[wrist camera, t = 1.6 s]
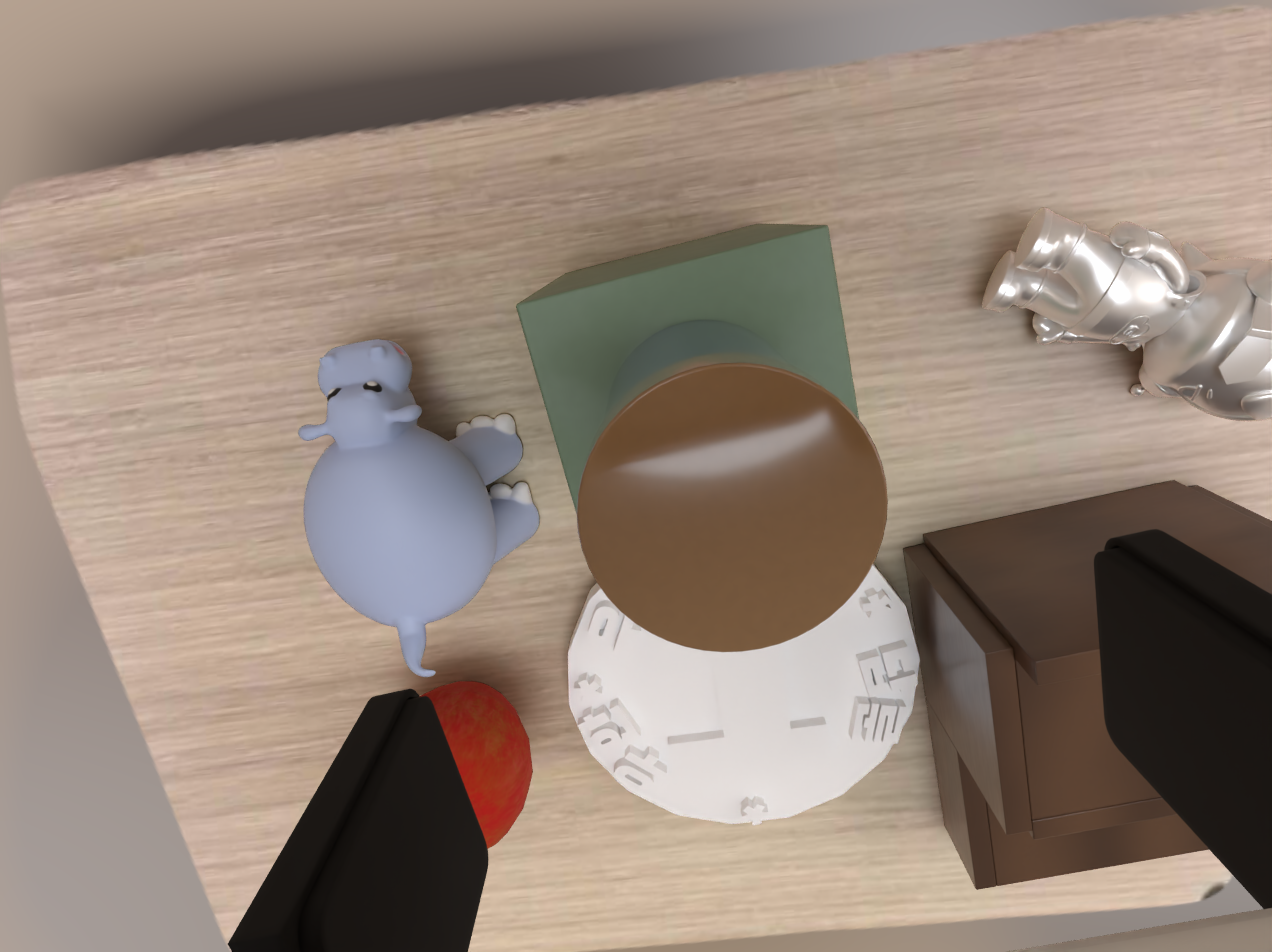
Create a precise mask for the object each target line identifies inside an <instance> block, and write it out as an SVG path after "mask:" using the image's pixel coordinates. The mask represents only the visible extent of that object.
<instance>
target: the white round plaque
mask: <svg viewBox="0 0 1272 952" xmlns="http://www.w3.org/2000/svg"><path fill="white" fill-rule="evenodd" d="M919 662H920V657H919V654H918V650H917V646H916V642H915V639H914V635H913V631H912V628H911V624H910V620H909V616H908V613H907V609H906V606H905V605H904V603H903V602H902V600H901V599H900V597H899V596H898V594H897V593H896V592H895V590H894V589H893V588H892V587H891V585H890V584H889V583H888V582H887V580H886V579H885V578H884V576H883V575H882V574H881V573H880V571H879V570H878V569H877V568H876V566H875V565H874V564H873V565H872V567H871V569H870V570H869V572H868V574H867V576H866V577H865V579H864V580H863V582H862V583H861V585H860V586H859V588H858V589H857V590H856V592H855V593H854V594H853V595H852V596H851V597H850V598H849V599H848V601H847V602H846V603H845V604H844V605H843V606H842V607H841V608H839V609H838V610H837V611H836V612H835V613H834V614H833V615H832V616H830V617H829V618H828V619H826V620H825V621H823V622H822V623H821V624H819V625H818V626H816V627H815V628H813V629H811V630H809V631H807V632H806V633H804V634H802V635H800V636H798V637H796V638H793V639H791V640H788V641H786V642H783V643H780V644H777V645H773V646H770V647H766V648H762V649H756V650H750V651H743V652H714V651H703V650H698V649H693V648H688V647H684V646H681V645H678V644H675V643H672V642H669V641H666V640H664V639H662V638H660V637H658V636H656V635H654V634H651V633H650V632H648V631H647V630H645V629H643V628H642V627H640V626H639V625H637V624H635V623H634V622H633V621H632V620H630V619H629V618H628V617H627V616H626V615H624V614H623V613H622V612H621V611H620V610H619V609H618V608H617V607H616V606H615V605H614V604H613V603H612V602H611V601H610V600H609V599H608V597H607V596H606V595H605V593H604V592H603V591H602V589H601V588H600V586H599V585H598V584H597V583H596V584H595V585H594V586H593V587H592V588H591V589H590V592H589V594H588V597H587V599H586V602H585V604H584V607H583V609H582V612H581V614H580V617H579V619H578V622H577V624H576V627H575V629H574V632H573V634H572V637H571V640H570V644H569V650H568V681H569V707H570V709H571V711H572V714H573V716H574V718H575V720H576V723H577V727H578V728H579V729H580V732H581V734H582V736H583V738H584V741H585V743H586V745H587V747H588V750H589V752H590V754H591V755H592V756H593V757H594V758H595V759H596V760H597V761H598V762H599V763H600V764H601V765H602V766H603V767H604V768H605V769H606V770H607V771H608V772H609V773H610V774H611V775H612V776H613V777H614V778H615V780H616V781H617V782H618V783H620V784H621V785H622V786H623V787H624V788H625V789H626V790H627V791H629V792H631V793H633V794H635V795H637V796H639V797H641V798H643V799H645V800H647V801H649V802H651V803H653V804H655V805H657V806H659V807H662V808H664V809H666V810H668V811H670V812H672V813H674V814H676V815H679V816H686V817H692V818H698V819H704V820H710V821H716V822H723V823H729V824H738V823H747V822H752V824H753V825H758V824H762V821H763V820H771V819H779V818H788V817H792V816H794V815H796V814H799V813H801V812H803V811H806V810H808V809H810V808H813V807H815V806H817V805H820V804H822V803H824V802H827V801H829V800H831V799H834V798H836V797H838V796H841V795H843V794H844V793H845V792H846V791H847V790H849V789H850V788H851V787H852V786H853V785H854V784H856V783H857V782H858V781H859V780H860V779H862V778H863V777H864V776H865V775H866V774H867V773H869V772H870V771H871V770H872V769H873V768H874V767H876V766H877V765H878V764H879V763H880V762H881V761H883V760H884V759H885V757H886V756H887V754H888V752H889V751H890V749H891V747H892V745H893V744H894V743H895V744H898V742H899V738H900V734H901V730H902V728H903V727H904V725H905V723H906V721H907V720H908V718H909V716H910V715H911V713H912V709H913V702H914V696H915V689H916V684H918V680H917V675H918V669H919Z"/></svg>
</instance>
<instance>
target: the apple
mask: <svg viewBox="0 0 1272 952" xmlns="http://www.w3.org/2000/svg"><path fill="white" fill-rule="evenodd" d="M422 696H427V697H429V698H430V699H431V701H432V703H433V705H434V707H435V710H436V713H437V715H438V718H439V720H440V723H441V726H442V728H443V731H444V733H445V736H446V739H447V741H448V744H449V746H450V749H451V752H452V754H453V757H454V759H455V762H456V765H457V767H458V770H459V773H460V775H461V778H462V780H463V783H464V786H465V788H466V791H467V793H468V796H469V799H470V801H471V804H472V806H473V809H474V812H475V814H476V817H477V819H478V822H479V825H480V827H481V830H482V832H483V835H484V838H485V841H486V844H487V849H488V848H490V847H492V846H494V845H495V844H497V843H498V842H499V841H500V840H501V839H502V838H503V837H504V836H505V835H506V834H507V833H508V831H509V829H510V828H511V826H512V825H513V823H514V822H515V820H516V819H517V817H518V816H519V814H520V812H521V811H522V809H523V807H524V803H525V800H526V797H527V793H528V790H529V786H530V781H531V777H532V773H533V769H532V761H531V753H530V744H529V738H528V736H527V734H526V731H525V729H524V727H523V725H522V723H521V720H520V718H519V716H518V714H517V712H516V709H515V708H514V707H513V706H512V705H511V704H510V703H509V701H508V700H507V699H506V698H505V697H504V696H503V695H502V694H501V693H500V692H498V691H497V690H495V689H494V688H492V687H490V686H489V685H486V684H484V683H480V682H474V681H458V682H454V683H450V684H447V685H443V686H440V687H438V688H436V689H434V690H432V691H429V692H427V693H425V694H423V695H421V696H420V697H422Z"/></svg>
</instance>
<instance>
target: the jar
mask: <svg viewBox="0 0 1272 952" xmlns="http://www.w3.org/2000/svg"><path fill="white" fill-rule="evenodd" d="M887 504H888V499H887V486H886V479H885V475H884V470H883V466H882V462H881V460H880V457H879V454H878V452H877V449H876V447H875V444H874V443H873V441H872V439H871V437H870V435H869V434H868V432H867V430H866V428H865V427H864V426H863V424H862V423H861V422H860V421H859V419H858V418H857V417H856V415H855V414H854V413H853V412H852V411H851V410H850V409H849V408H848V407H847V406H846V405H845V404H844V403H843V402H842V401H841V400H840V399H839V398H838V397H837V396H836V395H835V394H834V393H832V392H831V391H830V390H829V389H828V388H827V387H826V386H825V385H823V384H822V383H821V382H819V381H818V380H817V379H815V378H814V377H812V376H811V375H810V374H808V373H806V372H804V371H802V370H800V369H798V368H797V367H795V366H793V365H791V364H790V363H789V362H788V361H787V360H786V359H785V358H784V357H783V356H782V355H781V354H780V353H779V352H778V351H777V350H776V349H775V348H774V347H773V346H772V345H771V344H770V343H769V342H768V341H766V340H765V339H764V338H762V337H761V336H760V335H758V334H756V333H755V332H753V331H751V330H749V329H747V328H745V327H742V326H739V325H737V324H734V323H730V322H725V321H720V320H709V319H706V320H692V321H687V322H681V323H678V324H675V325H672V326H669V327H667V328H665V329H662V330H660V331H658V332H656V333H655V334H653V335H652V336H650V337H649V338H647V339H646V340H644V341H643V342H642V343H641V344H640V345H638V346H637V347H636V348H635V349H634V350H633V351H632V353H631V354H630V355H629V356H628V357H627V358H626V360H625V361H624V363H623V364H622V366H621V367H620V369H619V371H618V373H617V374H616V376H615V378H614V381H613V384H612V386H611V389H610V393H609V397H608V402H607V406H606V411H605V415H604V420H603V422H602V423H601V425H600V427H599V429H598V431H597V433H596V435H595V437H594V439H593V441H592V443H591V446H590V449H589V452H588V454H587V457H586V461H585V465H584V469H583V472H582V477H581V481H580V486H579V491H578V500H577V523H578V533H579V538H580V542H581V547H582V551H583V554H584V556H585V559H586V562H587V564H588V567H589V569H590V571H591V573H592V574H593V576H594V578H595V580H596V582H597V584H598V585H599V586H600V588H601V589H602V591H603V592H604V593H605V595H606V596H607V597H608V599H609V600H610V601H611V602H612V603H613V604H614V605H615V606H616V607H617V608H618V609H619V610H620V611H621V612H622V613H623V614H624V615H626V616H627V617H628V618H629V619H630V620H632V621H633V622H634V623H635V624H637V625H639V626H640V627H642V628H643V629H645V630H647V631H648V632H650V633H651V634H654V635H656V636H658V637H660V638H662V639H664V640H666V641H669V642H672V643H675V644H678V645H681V646H684V647H688V648H693V649H698V650H703V651H714V652H743V651H750V650H756V649H762V648H766V647H770V646H773V645H777V644H780V643H783V642H786V641H788V640H791V639H793V638H796V637H798V636H800V635H802V634H804V633H806V632H807V631H809V630H811V629H813V628H815V627H816V626H818V625H819V624H821V623H822V622H823V621H825V620H826V619H828V618H829V617H830V616H832V615H833V614H834V613H835V612H836V611H837V610H838V609H839V608H841V607H842V606H843V605H844V604H845V603H846V602H847V601H848V599H849V598H850V597H851V596H852V595H853V594H854V593H855V592H856V590H857V589H858V588H859V586H860V585H861V583H862V582H863V580H864V579H865V577H866V576H867V574H868V572H869V570H870V569H871V567H872V565H873V563H874V561H875V559H876V556H877V554H878V551H879V548H880V545H881V542H882V539H883V535H884V530H885V525H886V520H887Z"/></svg>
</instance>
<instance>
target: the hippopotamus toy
mask: <svg viewBox="0 0 1272 952" xmlns="http://www.w3.org/2000/svg"><path fill="white" fill-rule="evenodd" d="M411 375H412V363H411V360H410V358H409V356H408V354H407V353H406V352H405V350H404V349H403V348H402V347H401V346H399V345H398V344H397V343H395V342H393V341H390V340H381V339H375V340H368V341H363V342H356V343H352V344H348V345H343V346H339V347H335V348H333V349H331V350H330V351H328V352H327V353H326V355H325V356H324V357H323V358H320V366H319V370H318V383H319V386H320V388H321V390H322V392H323V393H324V395H325V396H326V397H327V400H328V404H327V419H326V422H325V423H323V424H320V425H304V426H302V427H301V428H300V429H299V432H298V434H299V436H300V438H302V439H303V440H306V441H310V440H313V439H316V438H318V437H320V436H323V435H331V436H332V437H333V438H334V440H335V442H334V443H333V444H331V445H330V446H329V447H328V448H326V449H325V451H324V453H323V454H322V456H321V457H320V458H319V460H318V461H317V463H316V465H315V467H314V469H313V471H312V473H311V475H310V478H309V481H308V484H307V488H306V492H305V498H304V524H305V530H306V535H307V539H308V543H309V546H310V549H311V552H312V554H313V557H314V559H315V561H316V563H317V565H318V567H319V569H320V571H321V573H322V574H323V576H324V577H325V579H326V580H327V582H328V583H329V584H330V586H331V587H332V588H333V590H334V591H335V592H336V593H337V594H338V595H339V596H340V597H341V598H342V599H343V600H344V601H345V602H346V603H347V604H349V605H350V606H351V607H352V608H354V609H355V610H356V611H358V612H359V613H361V614H363V615H364V616H366V617H368V618H370V619H372V620H374V621H376V622H378V623H381V624H384V625H388V626H393V627H397V630H398V634H399V638H400V644H401V649H402V653H403V656H404V659H405V662H406V664H407V665H408V667H409V668H410V669H411V671H412V672H414V673H415V674H417V675H419V676H422V677H430V676H433V675H434V674H435V671H434V670H428V669H424V668H422V667H421V660H422V657H423V653H424V650H425V645H426V630H425V625H426V624H427V623H430V622H434V621H437V620H440V619H442V618H445V617H447V616H449V615H451V614H453V613H455V612H457V611H458V610H460V609H461V608H463V607H464V606H465V605H466V604H468V603H469V602H470V601H471V600H472V599H473V598H474V596H475V595H476V594H477V593H478V591H479V590H480V588H481V587H482V585H483V584H484V582H485V580H486V579H487V577H488V575H489V573H490V571H491V568H492V566H493V564H495V563H496V562H498V561H499V560H500V559H502V558H503V557H504V556H506V555H507V554H509V553H510V552H511V551H513V550H514V549H516V548H517V547H518V546H520V545H521V544H522V543H524V542H525V541H527V540H528V539H529V538H531V537H532V536H533V535H534V533H535V532H536V531H537V529H538V526H539V514H538V511H537V508H536V507H535V505H534V504H533V502H532V498H531V493H530V490H529V487H528V485H527V484H526V483H524V482H519V483H517V484H515V486H514V488H513V489H512V488H511V487H509V486H508V485H506V484H495V485H493V486H492V487H491V488H490V493H488V492H487V489H486V486H487V485H488V484H490V483H492V482H494V481H495V480H497V479H499V478H500V477H502V476H504V475H506V474H507V473H509V472H510V471H512V470H513V469H514V468H515V467H516V466H517V465H518V463H519V462H520V460H521V457H522V453H523V448H522V444H521V441H520V439H519V437H518V436H517V435H516V431H515V430H516V427H515V422H514V420H513V418H512V417H511V416H510V415H508V414H501V415H499V416H497V417H496V418H495V419H491V418H490V417H487V416H478V417H475V418H474V419H473V420H472V421H471V423H470V424H469V423H465V422H463V423H460V424H459V425H458V426H457V429H456V436H457V437H456V438H454V439H452V440H450V441H447V440H445V439H444V438H442V437H440V436H439V435H437V434H435V433H433V432H431V431H428V430H426V429H423V428H420V427H418V426H417V418H418V417H419V416H420V415H421V413H422V408H421V407H420V406H418V405H416V402H415V399H414V397H413V395H412V393H411V391H410V390H409V388H408V385H409V382H410V379H411Z"/></svg>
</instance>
